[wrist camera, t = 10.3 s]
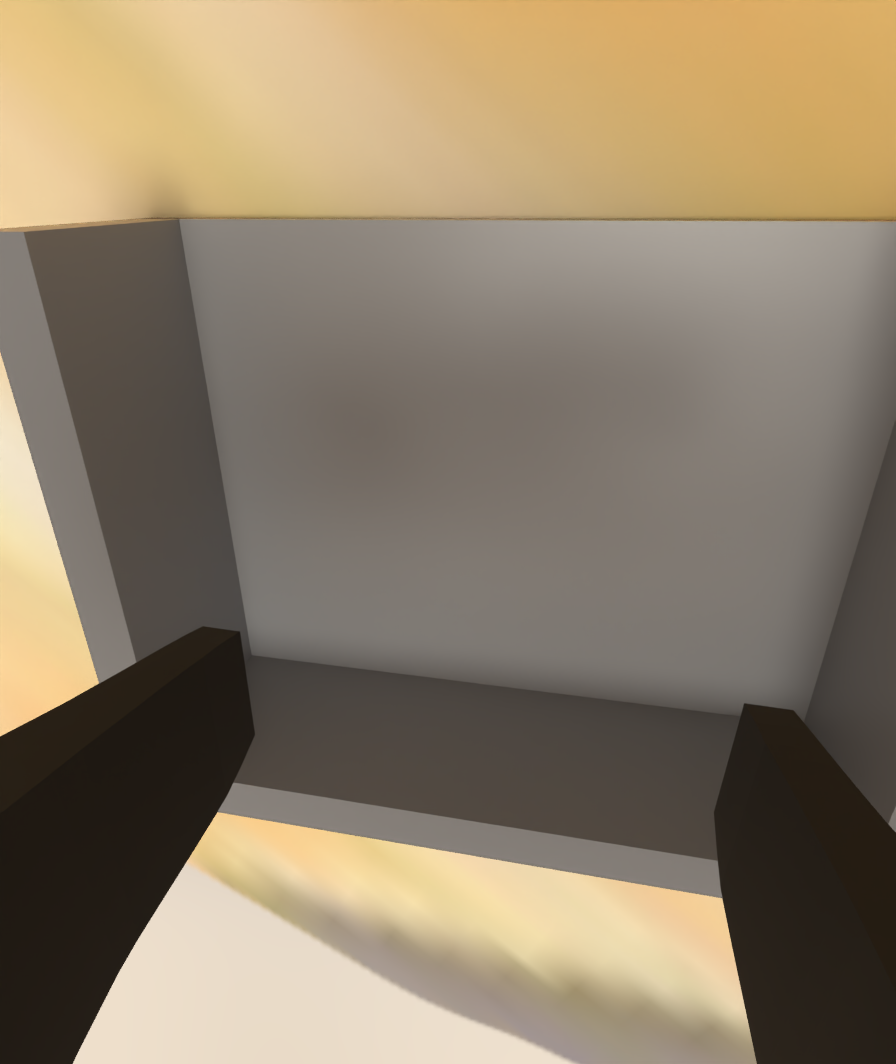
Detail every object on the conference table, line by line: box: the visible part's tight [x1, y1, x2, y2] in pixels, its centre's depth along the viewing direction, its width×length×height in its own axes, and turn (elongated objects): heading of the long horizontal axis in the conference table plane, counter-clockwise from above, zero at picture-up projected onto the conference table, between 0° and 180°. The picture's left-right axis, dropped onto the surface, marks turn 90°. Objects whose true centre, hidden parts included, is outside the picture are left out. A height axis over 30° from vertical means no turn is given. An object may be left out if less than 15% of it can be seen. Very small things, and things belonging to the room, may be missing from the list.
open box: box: [0, 218, 896, 898], centre depth 16 cm, size 19×14×6 cm
